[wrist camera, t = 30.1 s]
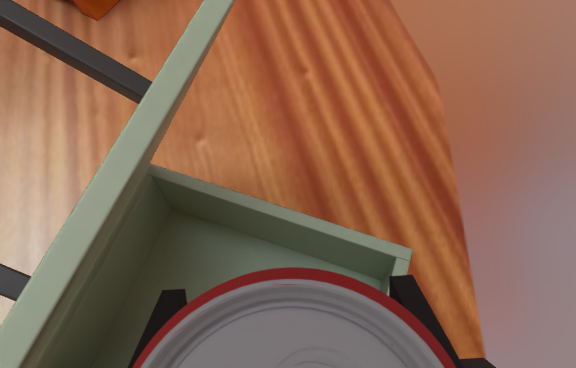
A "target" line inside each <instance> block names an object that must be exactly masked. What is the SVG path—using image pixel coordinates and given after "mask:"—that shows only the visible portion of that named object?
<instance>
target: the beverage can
mask: <svg viewBox="0 0 576 368" xmlns="http://www.w3.org/2000/svg"><path fill="white" fill-rule="evenodd" d="M132 368H456V367H455V365H454V363H453V361H452V360H451V358H450V357H449V356H448V354H447V353H446V351H445V350H444V348H443V347H442V346H441V344H440V343H439V342H438V341H437V339H436V338H435V337H434V336H433V334H432V333H431V332H430V331H429V330H428V329H427V328H426V327H425V326H424V325H423V324H422V323H421V322H420V321H419V320H418V319H417V318H416V317H415V316H414V315H413V314H412V313H410V312H409V311H408V310H407V309H406V308H404V307H403V306H402V305H401V304H399V303H398V302H397V301H395V300H394V299H392V298H391V297H389V296H388V295H386V294H385V293H383V292H381V291H379V290H378V289H376V288H374V287H372V286H370V285H368V284H366V283H364V282H361V281H359V280H357V279H354V278H351V277H348V276H345V275H343V274H339V273H335V272H331V271H326V270H320V269H315V268H303V267H284V268H273V269H266V270H261V271H256V272H252V273H248V274H245V275H242V276H239V277H236V278H233V279H230V280H228V281H226V282H224V283H221V284H219V285H217V286H215V287H213V288H212V289H210V290H208V291H206V292H204V293H203V294H201V295H200V296H198V297H197V298H195V299H194V300H192V301H191V302H190V303H188V304H187V305H186V306H184V307H183V308H182V309H181V310H179V311H178V312H177V313H176V314H175V315H174V316H173V317H172V318H171V319H170V320H168V321H167V322H166V324H165V325H164V326H163V327H162V328H161V329H160V330H159V331H158V332H157V333H156V334H155V336H154V337H153V338H152V339H151V341H150V342H149V343H148V344H147V346H146V347H145V349H144V350H143V352H142V353H141V354H140V356H139V357H138V359H137V360H136V362H135V364H134V365H133V367H132Z"/></svg>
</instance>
